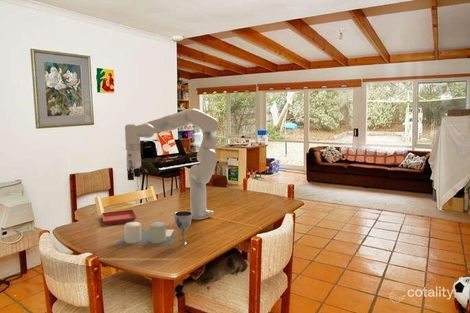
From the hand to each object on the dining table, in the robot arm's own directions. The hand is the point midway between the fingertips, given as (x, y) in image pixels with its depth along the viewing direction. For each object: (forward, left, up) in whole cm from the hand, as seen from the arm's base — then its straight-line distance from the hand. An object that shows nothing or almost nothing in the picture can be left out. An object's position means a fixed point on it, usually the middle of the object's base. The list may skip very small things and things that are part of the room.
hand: (134, 178), depth 180 cm
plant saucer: (+13, -10, -27) cm, 32 cm away
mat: (-12, +20, -27) cm, 35 cm away
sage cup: (-18, +24, -26) cm, 40 cm away
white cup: (-6, +24, -26) cm, 36 cm away
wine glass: (-31, +27, -27) cm, 49 cm away
